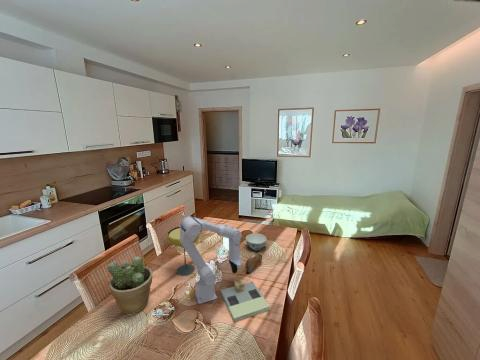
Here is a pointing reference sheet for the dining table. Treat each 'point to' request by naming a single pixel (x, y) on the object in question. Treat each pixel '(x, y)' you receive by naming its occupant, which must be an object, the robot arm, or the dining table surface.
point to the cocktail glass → (174, 239)
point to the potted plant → (130, 285)
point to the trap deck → (244, 302)
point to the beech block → (239, 285)
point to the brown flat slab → (253, 262)
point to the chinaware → (256, 241)
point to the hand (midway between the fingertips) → (234, 272)
